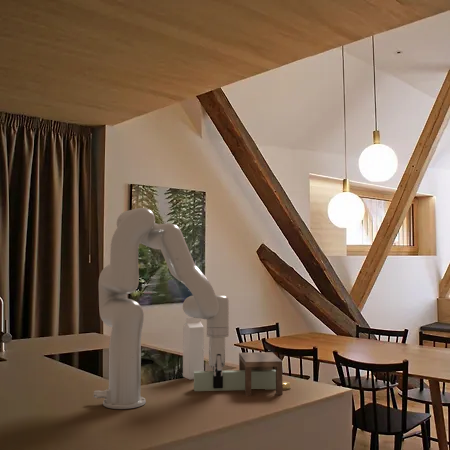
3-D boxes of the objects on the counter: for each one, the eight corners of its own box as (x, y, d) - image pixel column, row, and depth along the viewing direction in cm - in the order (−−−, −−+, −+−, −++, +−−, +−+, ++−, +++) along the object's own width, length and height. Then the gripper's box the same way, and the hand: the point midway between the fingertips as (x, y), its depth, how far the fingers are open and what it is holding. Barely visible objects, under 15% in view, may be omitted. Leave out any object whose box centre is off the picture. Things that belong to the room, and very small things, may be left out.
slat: (194, 391, 176) (194, 373, 176) (193, 389, 179) (193, 371, 179) (276, 389, 179) (276, 371, 179) (275, 387, 182) (275, 369, 182)
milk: (182, 376, 199) (182, 317, 200) (197, 375, 202) (197, 316, 203) (189, 379, 193) (189, 319, 195) (204, 378, 196) (204, 318, 198)
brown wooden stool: (245, 395, 170) (245, 362, 171) (239, 382, 188) (239, 352, 189) (282, 394, 171) (282, 361, 172) (272, 382, 189) (272, 352, 190)
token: (277, 390, 178) (277, 384, 178) (274, 386, 183) (274, 381, 183) (292, 390, 178) (292, 384, 178) (289, 386, 183) (288, 381, 183)
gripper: (205, 329, 187) (205, 381, 186) (208, 335, 171) (208, 393, 170) (226, 328, 188) (226, 381, 187) (231, 334, 172) (231, 392, 171)
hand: (217, 386), depth 178 cm, fingers closed on slat, 3 cm apart
